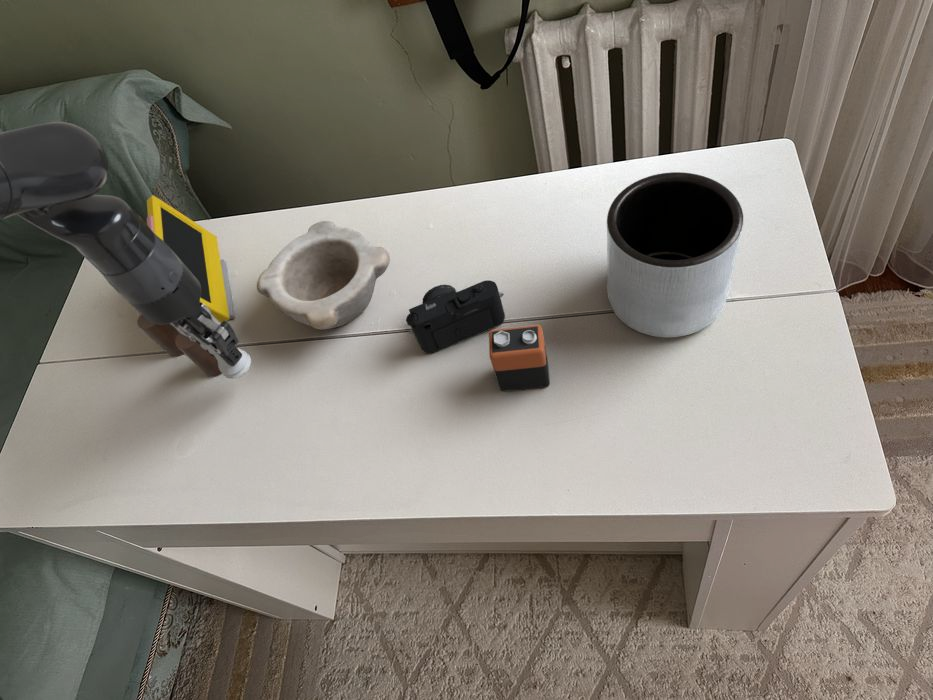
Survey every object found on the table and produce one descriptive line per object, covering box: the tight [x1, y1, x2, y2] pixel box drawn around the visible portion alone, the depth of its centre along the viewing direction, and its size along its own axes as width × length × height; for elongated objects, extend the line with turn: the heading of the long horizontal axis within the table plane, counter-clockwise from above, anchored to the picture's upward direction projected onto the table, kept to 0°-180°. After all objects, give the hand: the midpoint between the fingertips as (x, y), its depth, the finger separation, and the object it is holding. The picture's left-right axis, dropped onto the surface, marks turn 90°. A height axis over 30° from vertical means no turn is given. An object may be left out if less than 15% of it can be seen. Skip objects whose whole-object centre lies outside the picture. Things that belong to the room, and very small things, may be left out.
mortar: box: [256, 220, 391, 330], centre depth 96 cm, size 17×17×9 cm
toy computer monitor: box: [146, 195, 236, 323], centre depth 100 cm, size 20×8×16 cm, turn 20°
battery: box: [488, 324, 551, 392], centre depth 82 cm, size 4×7×10 cm, turn 90°
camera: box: [405, 279, 506, 355], centre depth 90 cm, size 14×7×8 cm, turn 110°
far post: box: [136, 313, 185, 358], centre depth 99 cm, size 4×4×8 cm
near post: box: [175, 333, 223, 378], centre depth 95 cm, size 4×4×8 cm
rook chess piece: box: [200, 334, 252, 380], centre depth 86 cm, size 4×4×8 cm
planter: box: [606, 171, 744, 338], centre depth 82 cm, size 16×16×16 cm
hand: (226, 355), depth 87 cm, fingers closed on rook chess piece, 3 cm apart
